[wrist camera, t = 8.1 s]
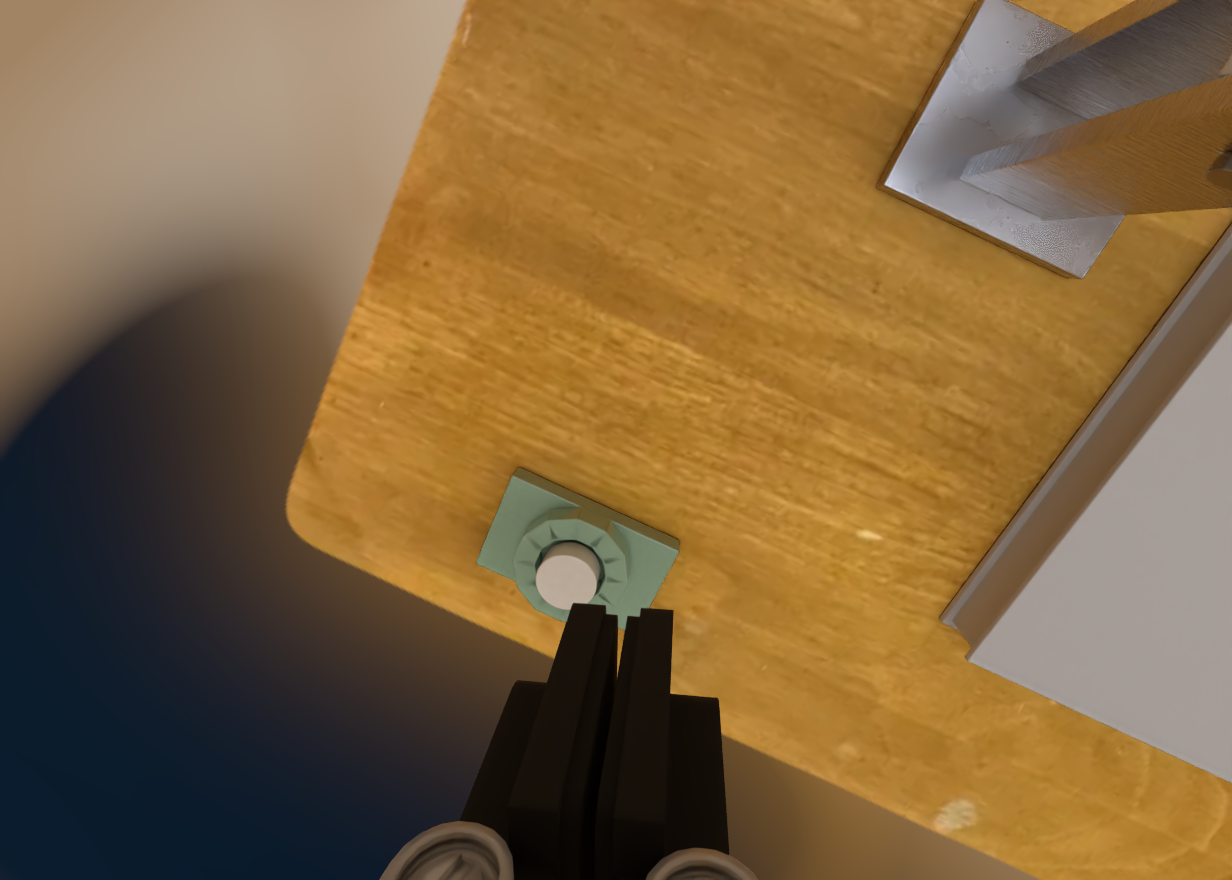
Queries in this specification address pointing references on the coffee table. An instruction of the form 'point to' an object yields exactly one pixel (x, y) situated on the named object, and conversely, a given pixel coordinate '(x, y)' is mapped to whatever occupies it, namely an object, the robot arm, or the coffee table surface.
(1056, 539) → the book
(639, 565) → the green push button base
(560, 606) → the beige push button
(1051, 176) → the lever stand
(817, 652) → the coffee table surface
